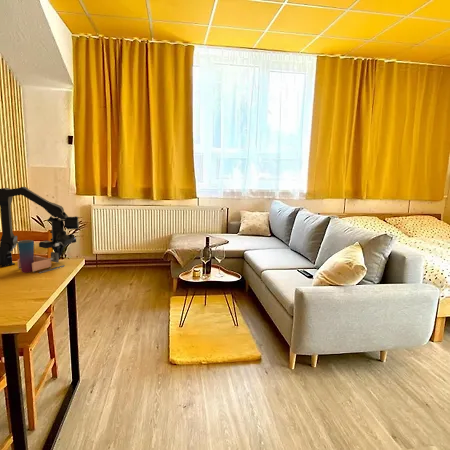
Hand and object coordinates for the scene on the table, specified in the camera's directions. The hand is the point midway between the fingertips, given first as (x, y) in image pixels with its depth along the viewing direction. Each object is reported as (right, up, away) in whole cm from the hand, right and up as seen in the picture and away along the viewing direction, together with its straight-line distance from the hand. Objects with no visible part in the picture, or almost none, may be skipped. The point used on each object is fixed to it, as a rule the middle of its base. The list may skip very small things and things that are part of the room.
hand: (59, 257), depth 179 cm
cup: (-8, -5, -15) cm, 18 cm away
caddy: (-4, -4, -9) cm, 11 cm away
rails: (-4, -4, -9) cm, 10 cm away
